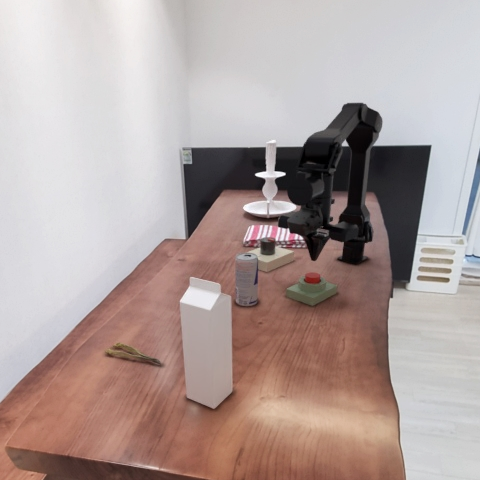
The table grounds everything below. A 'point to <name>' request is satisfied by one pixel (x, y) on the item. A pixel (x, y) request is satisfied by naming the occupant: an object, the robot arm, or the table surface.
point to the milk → (207, 342)
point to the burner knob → (267, 246)
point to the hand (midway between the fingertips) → (313, 260)
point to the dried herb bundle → (132, 350)
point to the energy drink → (246, 279)
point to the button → (312, 278)
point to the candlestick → (269, 189)
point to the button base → (311, 291)
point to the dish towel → (273, 236)
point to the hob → (273, 258)
